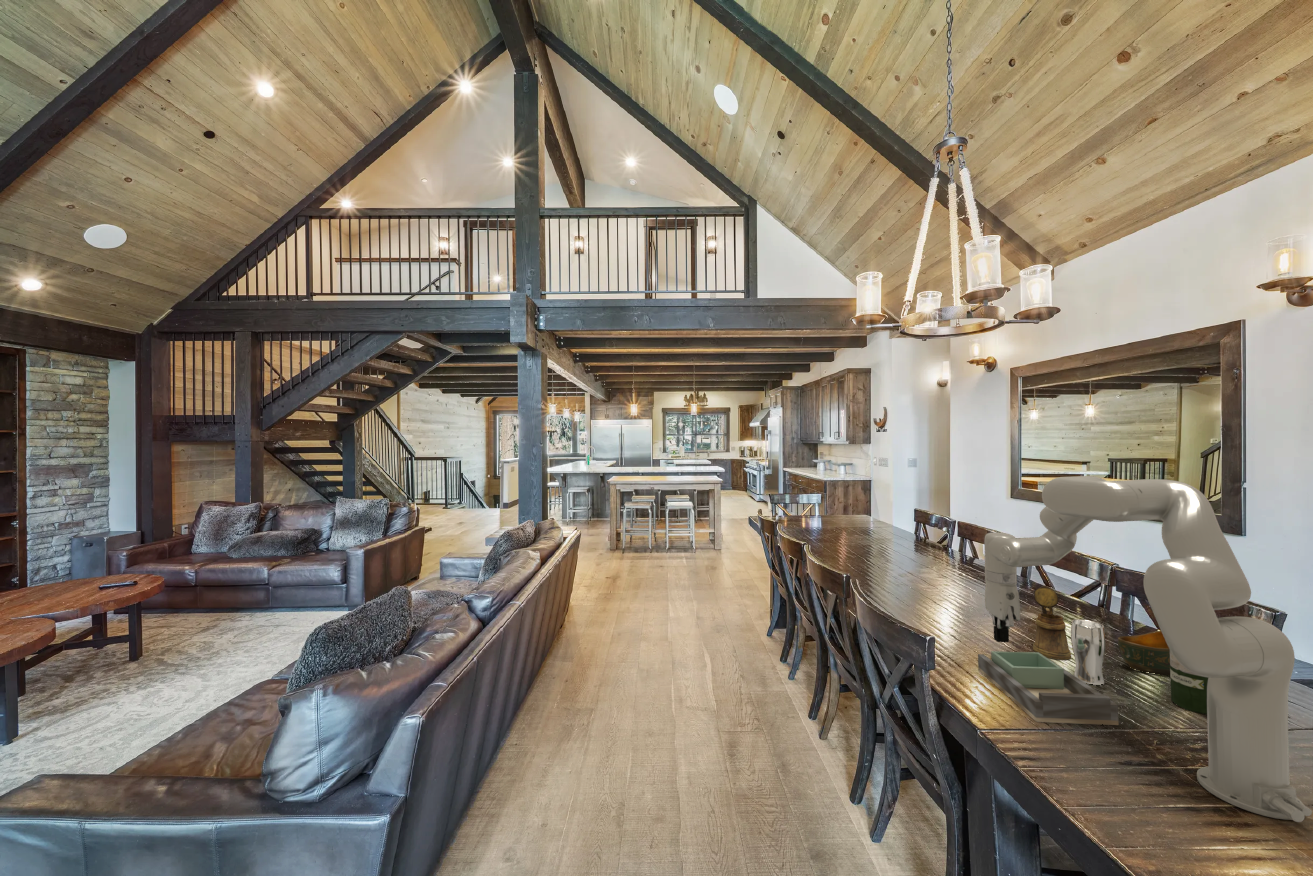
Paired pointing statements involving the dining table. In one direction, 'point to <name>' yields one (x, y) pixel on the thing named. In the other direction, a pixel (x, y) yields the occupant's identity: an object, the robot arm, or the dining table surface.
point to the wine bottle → (1187, 688)
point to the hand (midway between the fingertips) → (1001, 640)
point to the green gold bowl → (1146, 652)
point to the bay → (1054, 698)
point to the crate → (1030, 669)
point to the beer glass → (1088, 650)
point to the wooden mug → (1050, 627)
